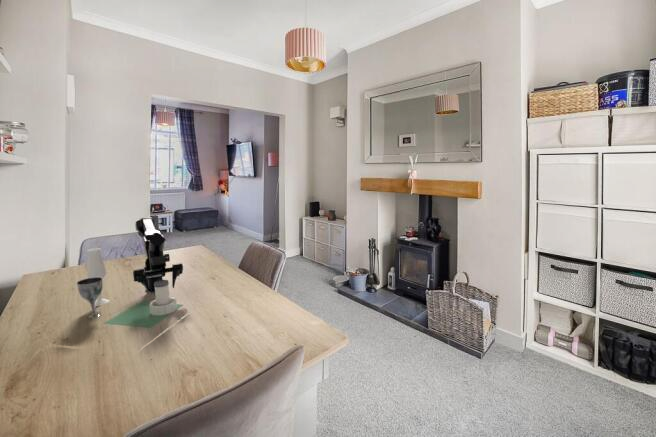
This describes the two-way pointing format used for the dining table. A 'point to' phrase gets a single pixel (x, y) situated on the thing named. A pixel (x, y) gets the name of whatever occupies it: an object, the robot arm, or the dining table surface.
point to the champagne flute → (96, 269)
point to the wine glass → (90, 291)
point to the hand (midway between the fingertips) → (161, 289)
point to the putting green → (145, 314)
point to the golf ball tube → (162, 292)
